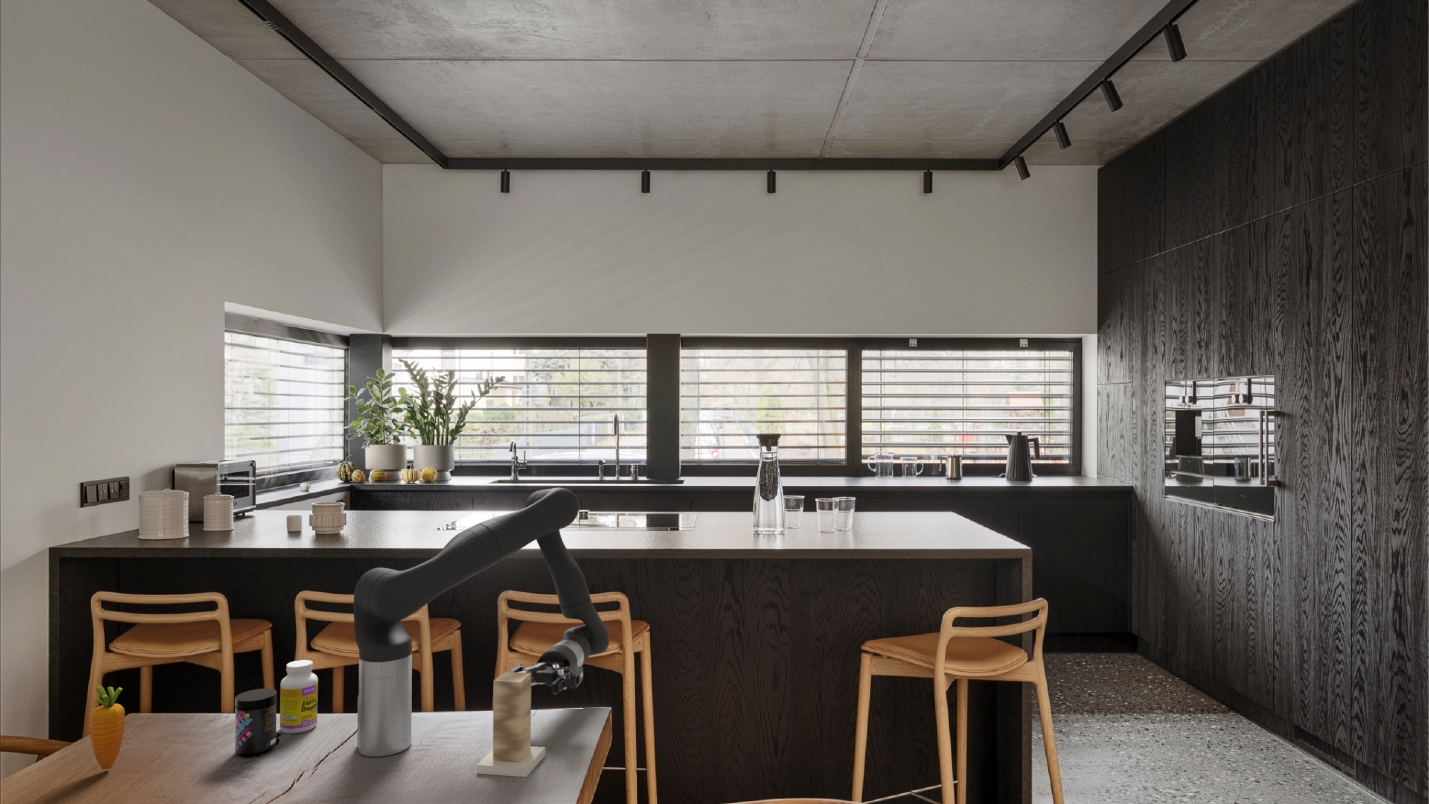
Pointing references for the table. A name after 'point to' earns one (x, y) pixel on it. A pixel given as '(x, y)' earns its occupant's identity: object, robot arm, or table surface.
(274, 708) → the supplement container
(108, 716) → the carrot
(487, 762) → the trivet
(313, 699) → the supplement bottle
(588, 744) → the table surface
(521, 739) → the oak block
